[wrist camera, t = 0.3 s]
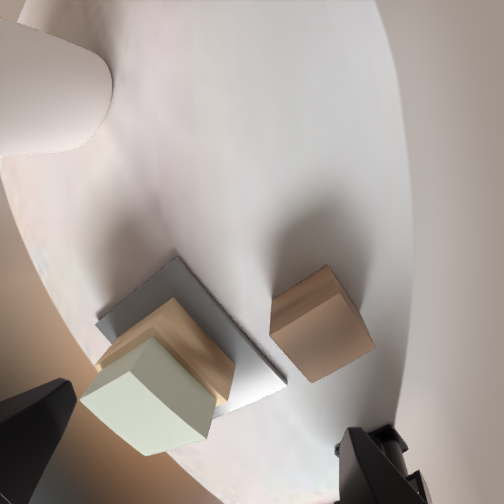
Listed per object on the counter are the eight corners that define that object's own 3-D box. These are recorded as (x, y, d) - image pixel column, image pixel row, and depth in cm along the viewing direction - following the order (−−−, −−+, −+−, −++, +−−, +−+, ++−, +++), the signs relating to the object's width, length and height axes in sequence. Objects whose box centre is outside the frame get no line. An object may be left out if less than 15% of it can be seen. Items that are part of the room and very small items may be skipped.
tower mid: (217, 399, 18) (206, 439, 15) (159, 422, 20) (145, 456, 16) (152, 335, 17) (129, 371, 14) (102, 369, 18) (79, 399, 15)
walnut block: (359, 311, 20) (375, 347, 16) (307, 343, 22) (311, 383, 17) (327, 263, 20) (339, 292, 15) (271, 299, 21) (269, 335, 16)
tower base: (235, 365, 22) (227, 401, 18) (174, 395, 24) (160, 427, 20) (173, 296, 21) (152, 326, 17) (117, 338, 22) (94, 366, 18)
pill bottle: (69, 41, 16) (-78, -1, 2) (135, 72, 17) (-48, 4, 2) (26, 127, 18) (-124, 141, 4) (83, 170, 19) (-102, 214, 5)
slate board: (287, 381, 23) (287, 386, 22) (198, 420, 25) (196, 424, 25) (177, 256, 20) (175, 258, 20) (98, 321, 23) (95, 324, 22)
